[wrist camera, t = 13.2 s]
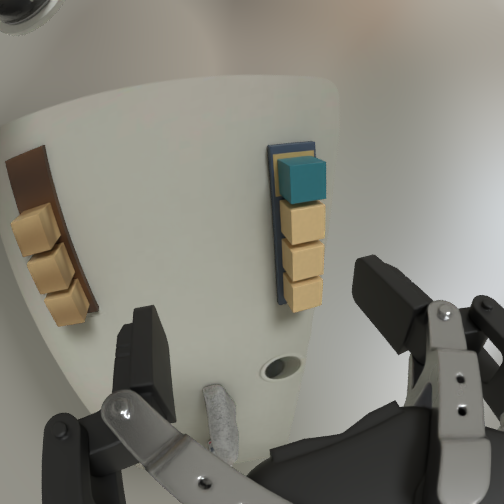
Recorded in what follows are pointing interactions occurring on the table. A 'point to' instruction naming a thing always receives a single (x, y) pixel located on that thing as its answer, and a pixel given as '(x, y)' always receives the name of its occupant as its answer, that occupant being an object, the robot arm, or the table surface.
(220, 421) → the decorative stone
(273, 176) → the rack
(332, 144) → the table surface
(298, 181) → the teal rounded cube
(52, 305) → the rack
